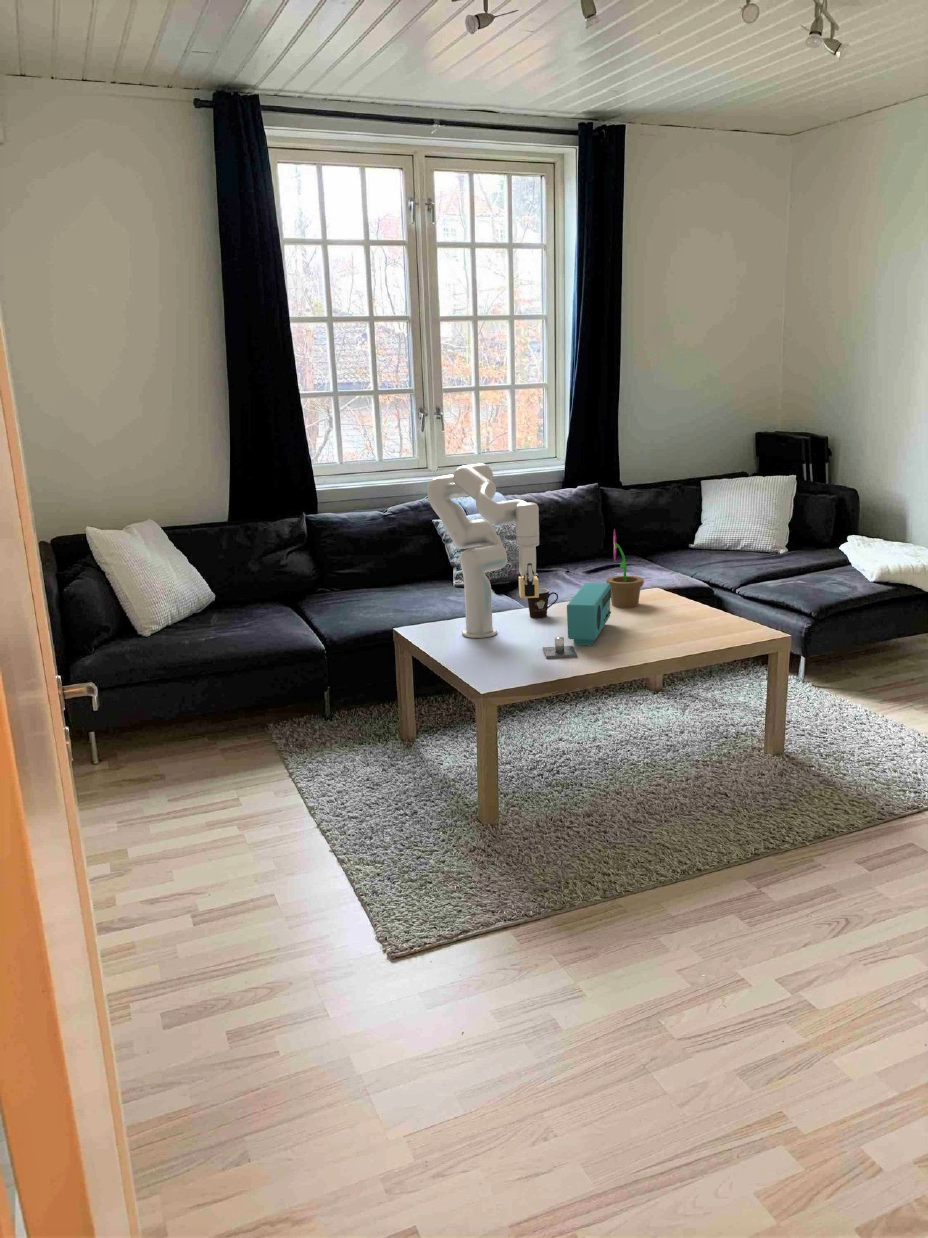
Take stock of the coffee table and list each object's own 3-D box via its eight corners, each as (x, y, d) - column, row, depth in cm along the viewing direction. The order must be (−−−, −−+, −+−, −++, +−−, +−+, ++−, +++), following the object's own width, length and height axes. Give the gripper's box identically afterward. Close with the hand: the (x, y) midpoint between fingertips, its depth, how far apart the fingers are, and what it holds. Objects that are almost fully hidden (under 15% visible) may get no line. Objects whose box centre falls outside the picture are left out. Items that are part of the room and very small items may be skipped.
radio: (597, 649, 319) (597, 605, 315) (566, 647, 322) (566, 604, 318) (613, 622, 350) (613, 582, 347) (585, 621, 354) (584, 582, 350)
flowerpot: (605, 600, 382) (605, 526, 374) (642, 600, 381) (642, 525, 373) (607, 609, 368) (607, 533, 361) (645, 609, 367) (645, 532, 359)
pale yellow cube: (519, 594, 320) (518, 576, 319) (536, 593, 320) (536, 575, 319) (520, 598, 315) (520, 580, 313) (538, 597, 315) (538, 579, 313)
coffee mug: (525, 618, 360) (524, 593, 358) (528, 613, 368) (528, 588, 366) (555, 619, 358) (555, 593, 355) (558, 613, 366) (558, 588, 363)
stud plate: (542, 650, 320) (542, 634, 319) (572, 648, 321) (572, 633, 319) (546, 658, 311) (546, 642, 309) (576, 657, 311) (576, 641, 310)
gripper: (513, 536, 321) (515, 588, 326) (518, 545, 304) (520, 600, 309) (536, 535, 321) (537, 587, 326) (542, 544, 304) (543, 599, 309)
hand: (528, 593), depth 317 cm, fingers closed on pale yellow cube, 6 cm apart
